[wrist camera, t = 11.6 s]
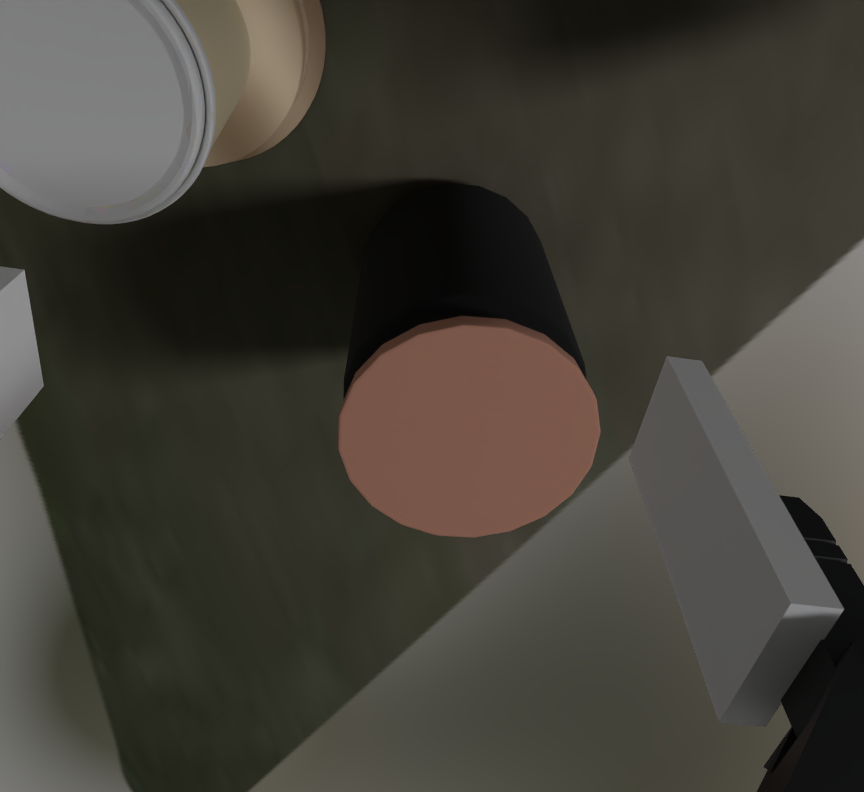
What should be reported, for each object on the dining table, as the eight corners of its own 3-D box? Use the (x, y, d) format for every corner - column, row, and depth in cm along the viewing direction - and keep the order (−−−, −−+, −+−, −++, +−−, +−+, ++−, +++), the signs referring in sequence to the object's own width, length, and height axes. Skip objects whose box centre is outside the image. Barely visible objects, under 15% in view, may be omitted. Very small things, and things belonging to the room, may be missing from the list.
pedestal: (240, -181, 33) (220, -191, 30) (369, 100, 40) (364, 117, 37) (8, -46, 36) (-34, -41, 33) (164, 196, 43) (142, 221, 39)
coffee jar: (327, 254, 45) (279, 429, 30) (467, 136, 41) (494, 268, 26) (440, 370, 49) (449, 574, 34) (576, 274, 46) (652, 454, 31)
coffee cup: (39, -79, 32) (-137, -74, 22) (258, -76, 32) (183, -70, 22) (90, 143, 37) (-33, 230, 27) (279, 145, 37) (226, 232, 27)
